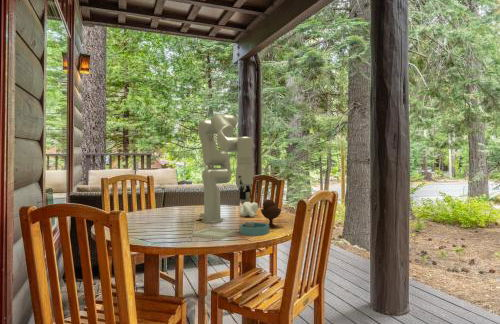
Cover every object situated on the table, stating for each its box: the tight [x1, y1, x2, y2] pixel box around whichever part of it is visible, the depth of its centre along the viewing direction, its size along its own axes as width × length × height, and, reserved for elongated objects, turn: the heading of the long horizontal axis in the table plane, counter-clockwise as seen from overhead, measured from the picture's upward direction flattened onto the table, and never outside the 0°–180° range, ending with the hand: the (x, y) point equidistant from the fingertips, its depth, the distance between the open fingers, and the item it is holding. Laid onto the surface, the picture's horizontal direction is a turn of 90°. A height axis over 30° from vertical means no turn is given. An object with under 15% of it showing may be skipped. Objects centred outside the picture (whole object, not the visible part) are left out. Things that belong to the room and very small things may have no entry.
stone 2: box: [244, 220, 255, 228], centre depth 179 cm, size 4×4×4 cm
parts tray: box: [192, 227, 237, 240], centre depth 174 cm, size 16×14×2 cm
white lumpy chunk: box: [239, 201, 259, 218], centre depth 228 cm, size 11×12×9 cm
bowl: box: [238, 221, 270, 237], centre depth 178 cm, size 14×14×4 cm
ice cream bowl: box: [260, 199, 282, 229], centre depth 193 cm, size 11×11×15 cm
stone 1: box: [240, 192, 251, 203], centre depth 176 cm, size 4×4×4 cm
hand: (245, 198), depth 176 cm, fingers closed on stone 1, 4 cm apart
